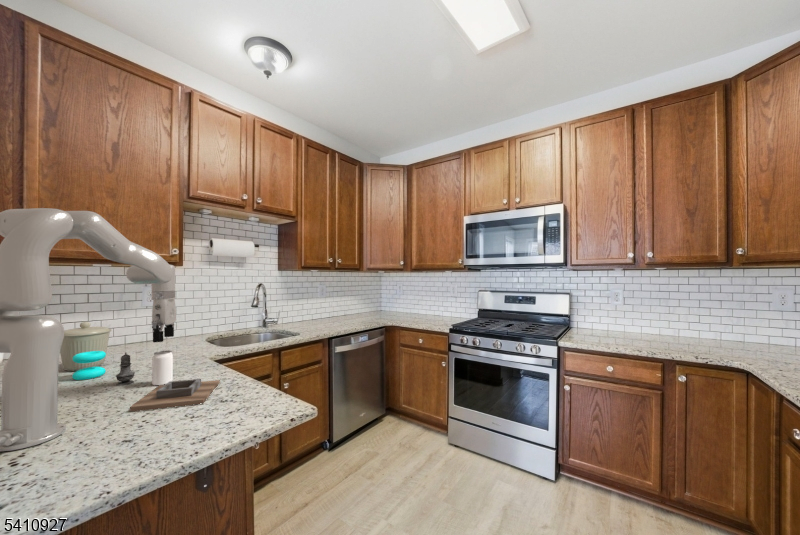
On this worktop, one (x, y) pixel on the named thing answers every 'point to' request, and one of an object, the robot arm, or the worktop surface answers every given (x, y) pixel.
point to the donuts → (90, 371)
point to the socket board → (176, 394)
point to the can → (162, 367)
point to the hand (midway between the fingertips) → (163, 339)
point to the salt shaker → (125, 371)
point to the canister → (83, 345)
